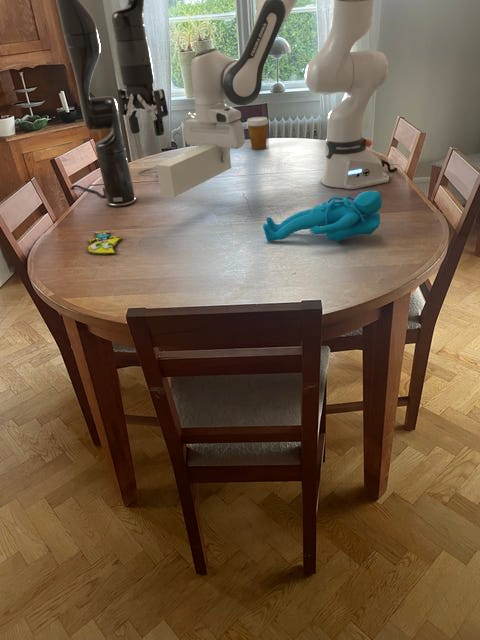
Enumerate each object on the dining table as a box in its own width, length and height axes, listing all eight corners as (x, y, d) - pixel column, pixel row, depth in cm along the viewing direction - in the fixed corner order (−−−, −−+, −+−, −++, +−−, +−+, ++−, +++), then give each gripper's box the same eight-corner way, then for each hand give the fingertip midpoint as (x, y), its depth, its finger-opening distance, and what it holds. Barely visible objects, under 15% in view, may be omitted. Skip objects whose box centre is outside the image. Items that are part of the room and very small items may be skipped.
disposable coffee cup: (269, 149, 209) (268, 120, 203) (248, 151, 210) (246, 121, 203) (269, 144, 217) (267, 115, 210) (248, 145, 217) (246, 117, 211)
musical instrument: (136, 181, 187) (185, 170, 185) (134, 175, 186) (183, 165, 184) (148, 168, 208) (192, 158, 206) (147, 163, 207) (191, 153, 205)
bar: (218, 166, 153) (215, 139, 149) (231, 168, 151) (228, 140, 146) (161, 194, 134) (155, 164, 130) (174, 197, 132) (169, 166, 127)
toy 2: (268, 204, 133) (379, 177, 123) (278, 239, 138) (385, 216, 128) (257, 229, 119) (380, 200, 109) (269, 266, 124) (388, 242, 114)
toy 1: (125, 229, 140) (115, 251, 128) (126, 232, 141) (116, 254, 128) (91, 232, 140) (77, 253, 128) (92, 234, 141) (78, 256, 128)
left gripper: (103, 64, 114) (117, 135, 123) (145, 64, 107) (157, 139, 116) (126, 60, 119) (138, 129, 128) (168, 59, 112) (178, 132, 121)
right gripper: (176, 114, 143) (183, 161, 150) (233, 116, 133) (237, 167, 140) (189, 110, 147) (195, 156, 155) (245, 112, 137) (249, 161, 145)
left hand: (147, 134), depth 122 cm, fingers open, 8 cm apart
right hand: (216, 161), depth 147 cm, fingers closed on bar, 5 cm apart
